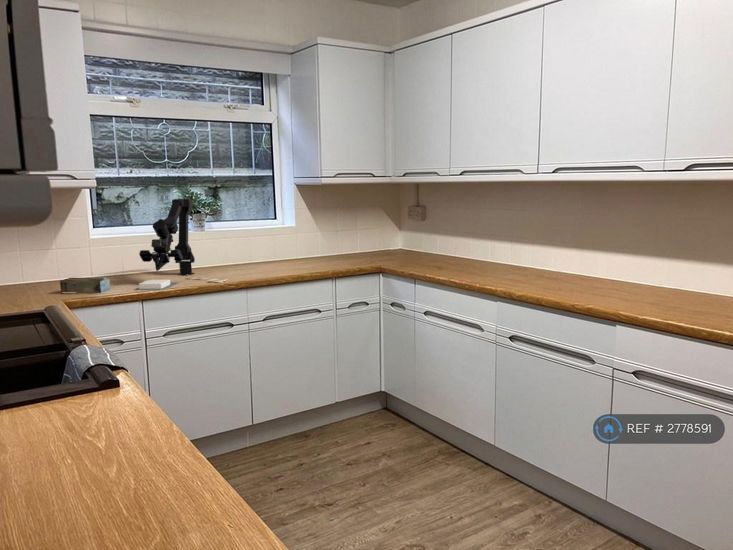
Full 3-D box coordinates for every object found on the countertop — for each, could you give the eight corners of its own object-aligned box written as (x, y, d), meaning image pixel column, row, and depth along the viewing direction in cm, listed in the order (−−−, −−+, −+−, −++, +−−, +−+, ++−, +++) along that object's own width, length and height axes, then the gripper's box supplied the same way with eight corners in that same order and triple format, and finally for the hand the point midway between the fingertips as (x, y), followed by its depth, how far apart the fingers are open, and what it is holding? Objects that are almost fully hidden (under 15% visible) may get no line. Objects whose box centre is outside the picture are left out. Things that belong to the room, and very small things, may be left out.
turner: (182, 281, 285) (182, 278, 285) (191, 278, 292) (191, 276, 291) (219, 282, 277) (219, 280, 277) (228, 280, 284) (227, 278, 284)
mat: (151, 283, 280) (151, 282, 280) (180, 283, 279) (180, 282, 279) (133, 291, 260) (133, 290, 260) (164, 290, 259) (164, 289, 259)
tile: (148, 279, 272) (138, 283, 261) (170, 279, 272) (160, 283, 261) (149, 285, 272) (139, 289, 261) (170, 285, 272) (161, 289, 261)
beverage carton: (101, 294, 255) (100, 279, 254) (59, 294, 257) (58, 279, 256) (111, 291, 263) (109, 276, 261) (70, 291, 265) (69, 276, 264)
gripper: (139, 232, 272) (130, 259, 263) (178, 232, 271) (171, 259, 262) (147, 248, 281) (139, 274, 272) (185, 247, 280) (179, 273, 271)
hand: (157, 270), depth 269 cm, fingers closed
